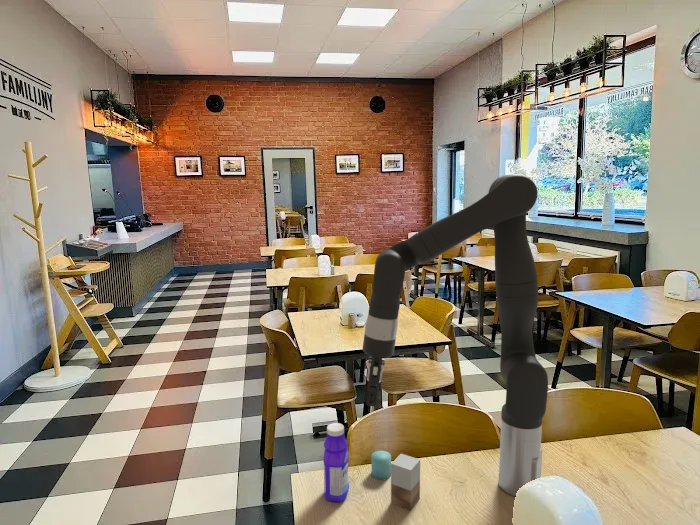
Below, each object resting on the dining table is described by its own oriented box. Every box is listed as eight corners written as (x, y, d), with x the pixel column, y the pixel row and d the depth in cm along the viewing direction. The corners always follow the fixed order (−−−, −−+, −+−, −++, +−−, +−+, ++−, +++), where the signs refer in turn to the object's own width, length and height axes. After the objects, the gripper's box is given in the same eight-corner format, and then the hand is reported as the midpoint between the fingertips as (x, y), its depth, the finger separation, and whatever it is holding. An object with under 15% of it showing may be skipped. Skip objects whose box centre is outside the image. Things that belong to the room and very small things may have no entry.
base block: (419, 498, 113) (420, 479, 112) (410, 510, 109) (410, 490, 108) (400, 491, 116) (400, 472, 115) (390, 503, 112) (391, 483, 111)
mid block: (420, 479, 112) (420, 459, 112) (410, 490, 108) (411, 470, 107) (400, 472, 115) (400, 453, 114) (391, 483, 111) (391, 463, 110)
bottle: (345, 505, 111) (344, 435, 108) (321, 502, 112) (319, 433, 109) (351, 486, 118) (350, 420, 115) (328, 484, 119) (327, 418, 116)
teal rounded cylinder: (394, 472, 124) (394, 454, 123) (385, 482, 120) (385, 463, 119) (377, 466, 126) (377, 448, 126) (367, 475, 122) (367, 457, 122)
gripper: (395, 345, 107) (385, 413, 109) (396, 327, 121) (387, 388, 123) (362, 340, 107) (353, 408, 110) (366, 323, 121) (358, 383, 124)
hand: (371, 397), depth 117 cm, fingers open, 8 cm apart
